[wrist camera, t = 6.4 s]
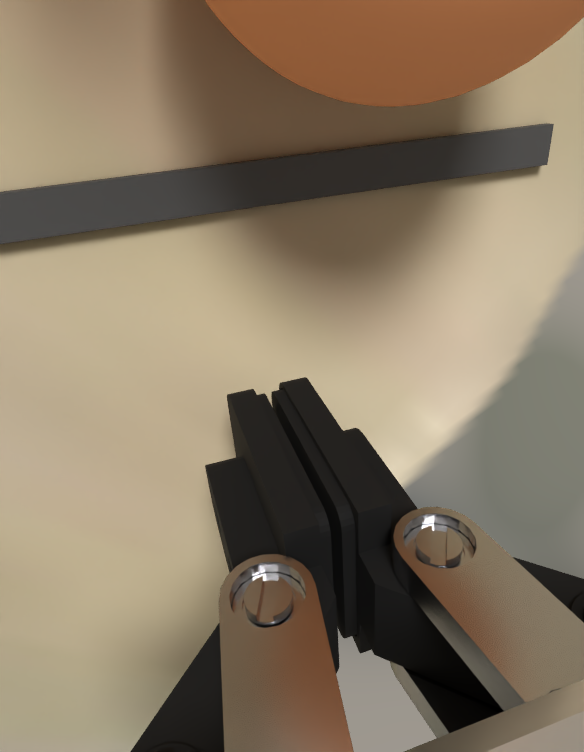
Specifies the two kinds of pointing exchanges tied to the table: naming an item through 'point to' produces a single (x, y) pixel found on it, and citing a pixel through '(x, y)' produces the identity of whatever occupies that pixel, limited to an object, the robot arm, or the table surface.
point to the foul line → (264, 182)
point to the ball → (396, 43)
